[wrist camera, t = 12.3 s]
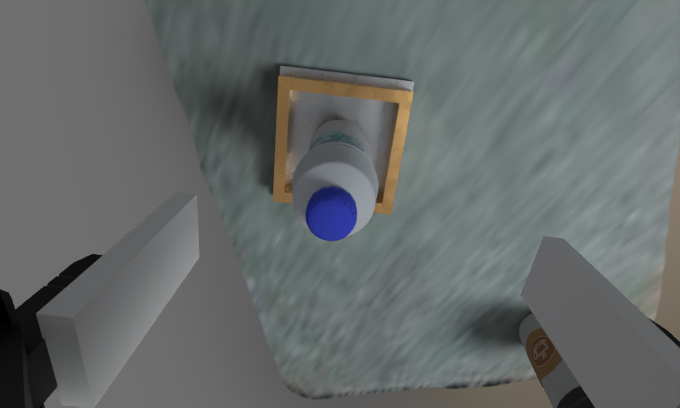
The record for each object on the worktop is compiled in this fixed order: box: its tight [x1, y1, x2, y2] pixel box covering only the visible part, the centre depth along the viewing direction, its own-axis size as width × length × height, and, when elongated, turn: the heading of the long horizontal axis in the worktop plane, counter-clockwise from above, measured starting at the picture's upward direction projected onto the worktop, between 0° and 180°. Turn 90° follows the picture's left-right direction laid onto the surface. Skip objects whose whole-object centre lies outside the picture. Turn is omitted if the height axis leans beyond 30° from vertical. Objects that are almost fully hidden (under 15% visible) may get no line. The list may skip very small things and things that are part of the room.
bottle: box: [292, 120, 378, 241], centre depth 32 cm, size 7×7×20 cm
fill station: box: [273, 65, 414, 214], centre depth 41 cm, size 15×14×4 cm
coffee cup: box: [519, 313, 595, 408], centre depth 45 cm, size 8×8×15 cm
